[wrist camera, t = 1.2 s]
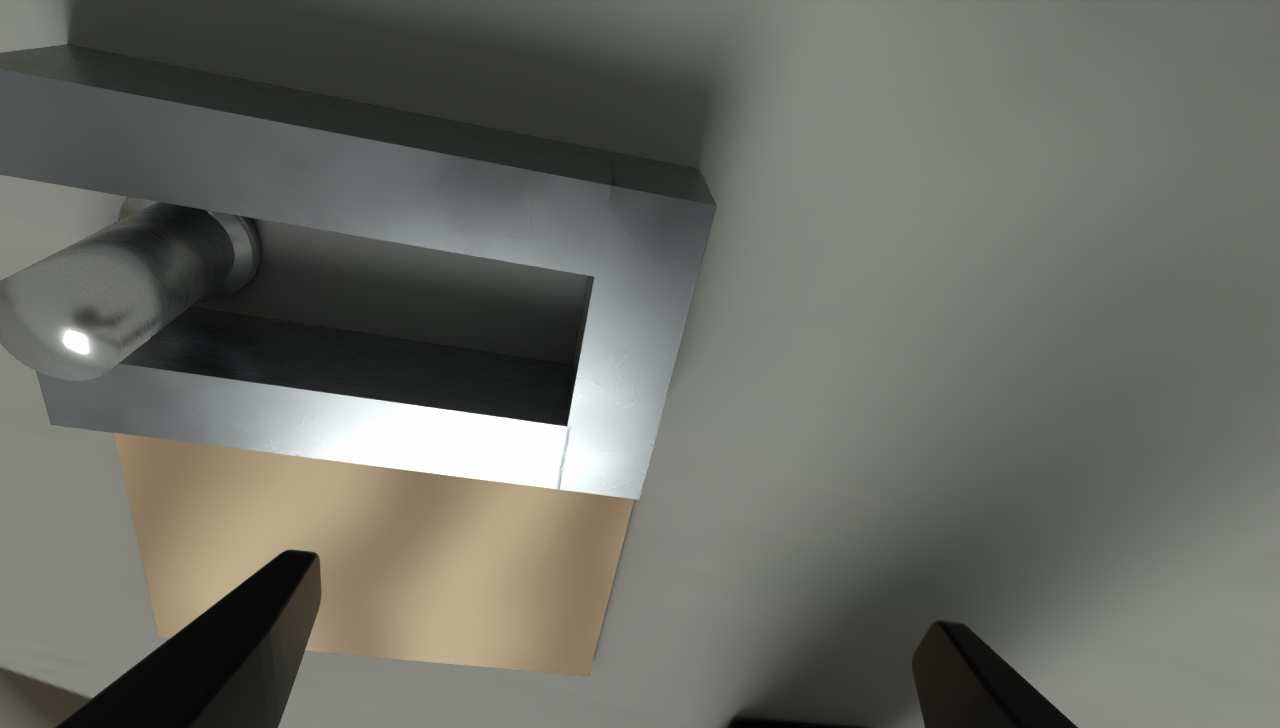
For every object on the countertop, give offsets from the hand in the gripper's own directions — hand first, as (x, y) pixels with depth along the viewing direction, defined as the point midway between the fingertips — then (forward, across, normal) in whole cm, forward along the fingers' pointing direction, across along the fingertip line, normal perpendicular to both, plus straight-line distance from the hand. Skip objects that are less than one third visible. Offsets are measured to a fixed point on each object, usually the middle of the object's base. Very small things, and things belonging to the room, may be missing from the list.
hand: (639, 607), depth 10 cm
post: (+10, +11, 0) cm, 15 cm away
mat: (+10, +6, +10) cm, 16 cm away
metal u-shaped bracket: (+10, +6, 0) cm, 11 cm away
